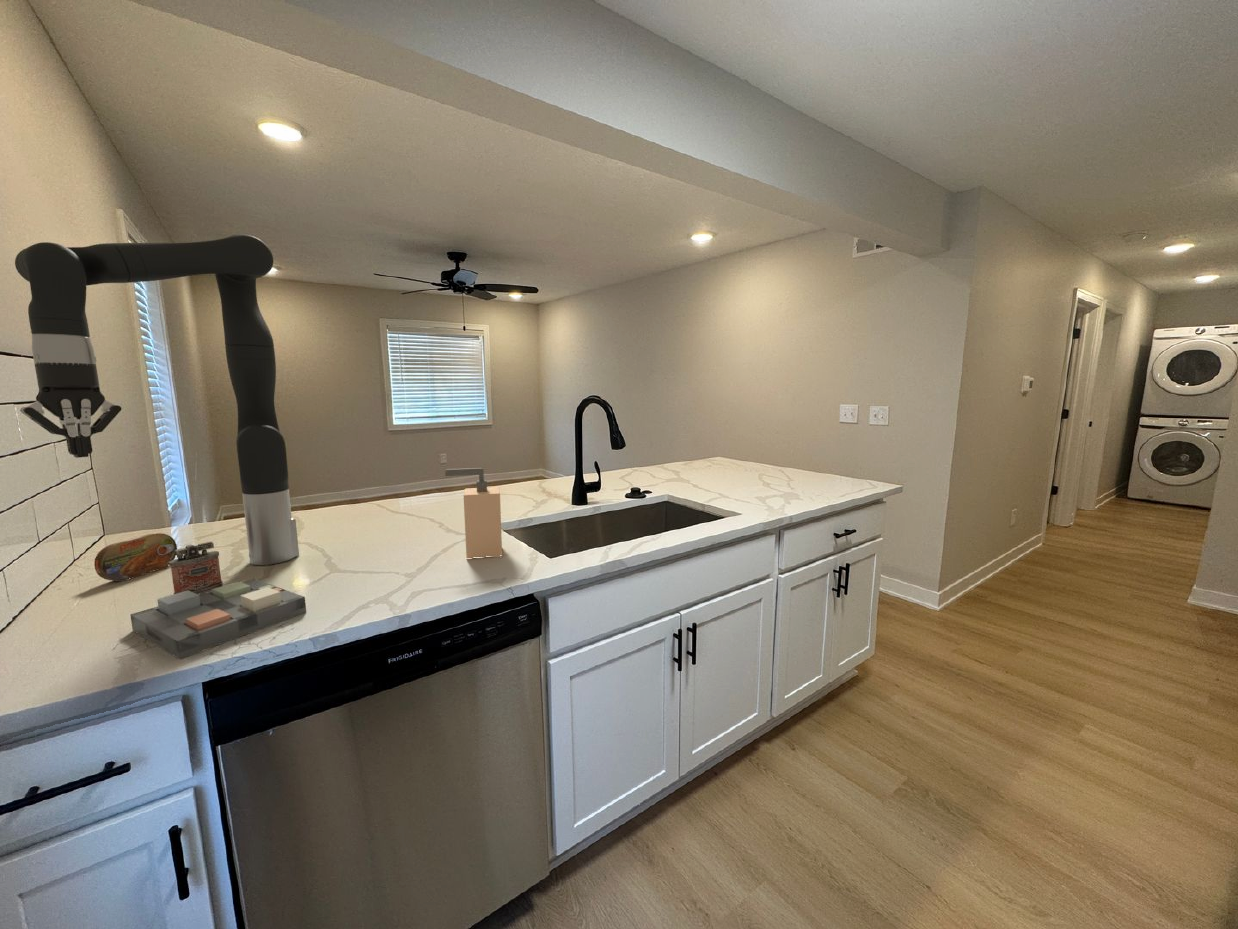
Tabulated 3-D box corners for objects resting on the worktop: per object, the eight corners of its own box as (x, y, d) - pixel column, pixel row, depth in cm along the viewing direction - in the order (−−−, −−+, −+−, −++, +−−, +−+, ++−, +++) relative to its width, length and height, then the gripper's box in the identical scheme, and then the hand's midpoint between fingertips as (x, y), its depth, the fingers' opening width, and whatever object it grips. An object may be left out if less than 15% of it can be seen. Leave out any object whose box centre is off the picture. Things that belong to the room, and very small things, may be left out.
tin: (105, 587, 106) (99, 548, 104) (94, 586, 106) (88, 547, 105) (180, 563, 120) (175, 529, 119) (170, 562, 121) (165, 528, 120)
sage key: (240, 593, 99) (238, 581, 99) (251, 598, 97) (250, 585, 96) (213, 601, 95) (212, 589, 95) (225, 606, 93) (223, 593, 93)
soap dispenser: (501, 546, 133) (498, 465, 130) (502, 556, 125) (499, 470, 121) (450, 550, 130) (446, 466, 126) (448, 561, 122) (444, 472, 118)
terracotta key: (219, 622, 87) (217, 608, 86) (231, 628, 85) (229, 614, 84) (187, 633, 83) (185, 618, 83) (200, 639, 81) (198, 625, 80)
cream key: (268, 599, 93) (267, 587, 93) (281, 604, 91) (280, 591, 91) (242, 608, 90) (240, 595, 89) (254, 614, 88) (253, 600, 87)
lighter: (177, 600, 99) (170, 551, 98) (171, 596, 101) (164, 548, 99) (225, 586, 106) (220, 541, 104) (219, 583, 108) (213, 538, 106)
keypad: (255, 592, 103) (253, 577, 102) (306, 612, 94) (304, 596, 93) (132, 630, 86) (130, 613, 86) (179, 659, 77) (177, 639, 77)
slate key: (189, 603, 92) (188, 590, 92) (200, 608, 90) (199, 595, 89) (159, 612, 88) (157, 599, 88) (169, 618, 86) (168, 604, 86)
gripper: (108, 363, 97) (121, 451, 100) (3, 360, 86) (21, 459, 89) (123, 363, 94) (136, 454, 96) (15, 359, 82) (33, 463, 85)
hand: (81, 456), depth 92 cm, fingers closed
